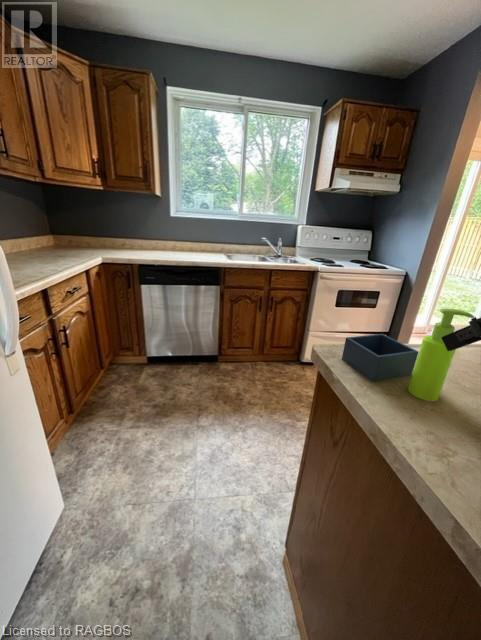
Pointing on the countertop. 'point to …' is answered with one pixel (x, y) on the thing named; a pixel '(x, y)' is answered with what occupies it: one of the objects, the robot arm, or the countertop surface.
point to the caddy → (379, 356)
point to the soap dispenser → (434, 359)
